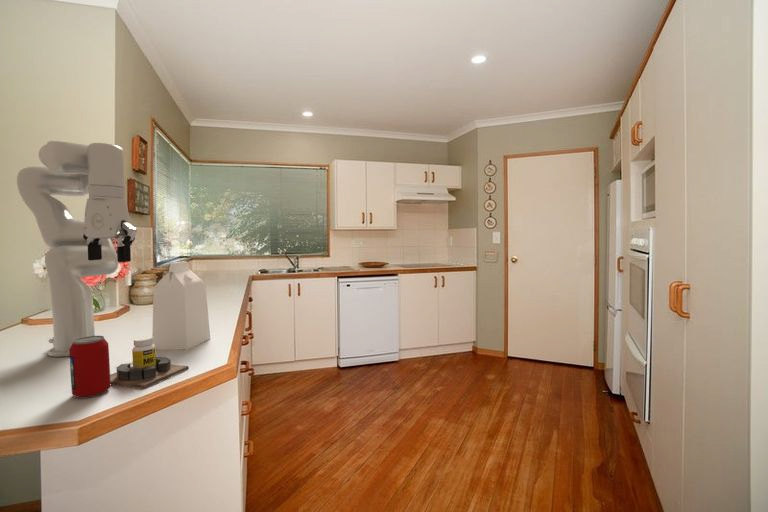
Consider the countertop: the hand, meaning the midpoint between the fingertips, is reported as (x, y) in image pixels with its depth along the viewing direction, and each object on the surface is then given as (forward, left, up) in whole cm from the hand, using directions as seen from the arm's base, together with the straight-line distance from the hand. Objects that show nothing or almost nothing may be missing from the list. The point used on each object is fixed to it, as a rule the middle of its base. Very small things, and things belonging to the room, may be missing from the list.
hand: (109, 260), depth 99 cm
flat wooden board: (+13, -3, -28) cm, 31 cm away
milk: (0, +22, -28) cm, 36 cm away
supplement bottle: (+13, -3, -27) cm, 30 cm away
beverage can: (+11, -14, -28) cm, 33 cm away
